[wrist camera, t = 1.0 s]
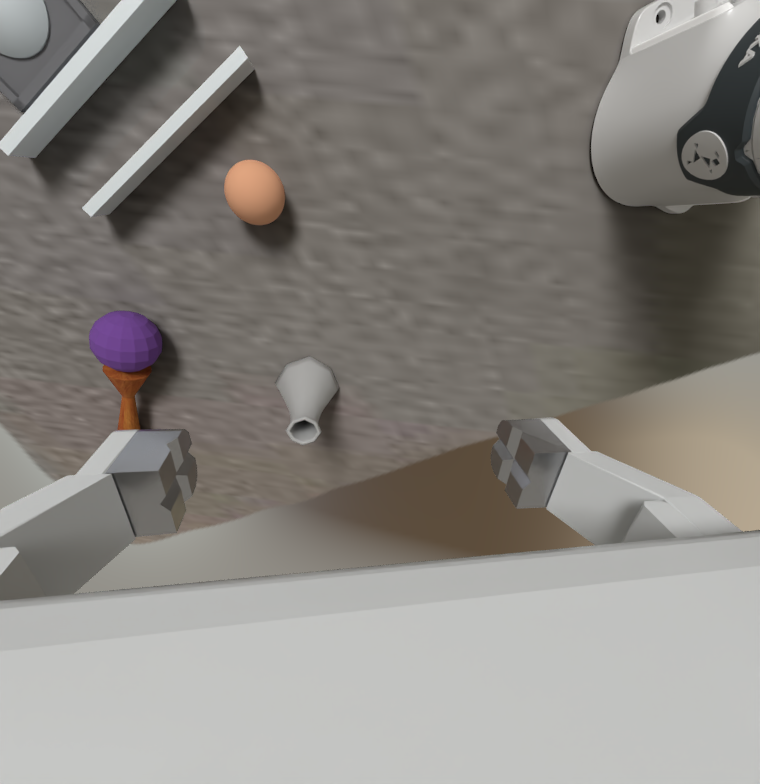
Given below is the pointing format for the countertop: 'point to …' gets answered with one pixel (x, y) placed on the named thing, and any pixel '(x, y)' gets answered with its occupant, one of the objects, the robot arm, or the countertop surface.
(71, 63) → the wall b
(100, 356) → the purple and orange maraca
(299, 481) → the countertop surface
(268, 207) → the ball
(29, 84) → the gray square tray
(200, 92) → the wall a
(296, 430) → the flask
